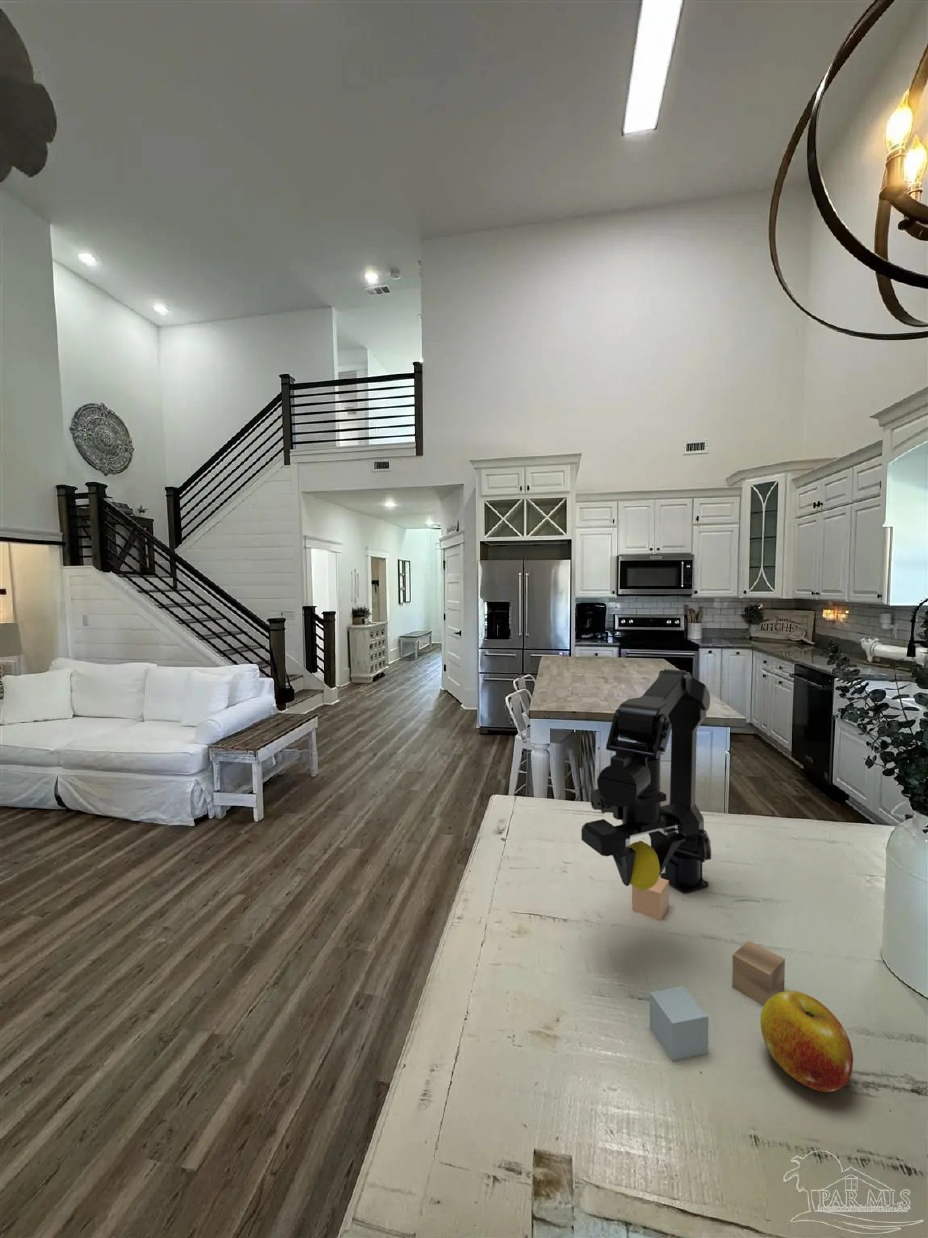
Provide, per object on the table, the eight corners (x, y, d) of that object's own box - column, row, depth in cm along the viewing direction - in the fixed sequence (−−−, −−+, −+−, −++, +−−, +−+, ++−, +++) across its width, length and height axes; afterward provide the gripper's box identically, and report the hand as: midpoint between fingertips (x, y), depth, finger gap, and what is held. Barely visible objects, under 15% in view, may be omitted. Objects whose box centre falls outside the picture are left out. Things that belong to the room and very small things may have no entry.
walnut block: (748, 971, 78) (748, 940, 77) (784, 992, 74) (784, 959, 73) (732, 987, 75) (732, 955, 74) (769, 1009, 71) (769, 975, 70)
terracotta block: (641, 897, 97) (641, 871, 96) (668, 907, 94) (668, 880, 93) (632, 910, 93) (632, 883, 93) (660, 921, 90) (660, 893, 89)
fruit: (874, 1101, 58) (876, 1034, 57) (805, 1117, 56) (806, 1049, 56) (804, 1030, 67) (805, 972, 67) (743, 1042, 66) (743, 982, 65)
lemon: (662, 903, 77) (662, 851, 77) (624, 899, 78) (624, 848, 78) (656, 882, 83) (656, 834, 82) (621, 879, 84) (621, 831, 83)
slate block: (683, 1021, 69) (683, 986, 69) (707, 1054, 64) (708, 1016, 64) (649, 1028, 68) (650, 992, 68) (672, 1062, 63) (672, 1023, 63)
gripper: (651, 759, 91) (651, 845, 91) (561, 776, 84) (562, 868, 85) (702, 781, 80) (701, 877, 81) (603, 801, 73) (604, 906, 74)
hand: (640, 880), depth 81 cm, fingers closed on lemon, 5 cm apart
